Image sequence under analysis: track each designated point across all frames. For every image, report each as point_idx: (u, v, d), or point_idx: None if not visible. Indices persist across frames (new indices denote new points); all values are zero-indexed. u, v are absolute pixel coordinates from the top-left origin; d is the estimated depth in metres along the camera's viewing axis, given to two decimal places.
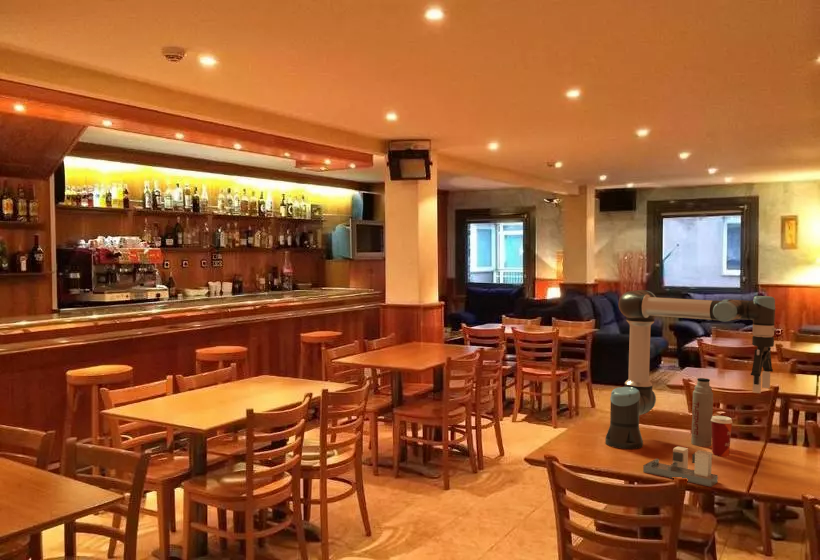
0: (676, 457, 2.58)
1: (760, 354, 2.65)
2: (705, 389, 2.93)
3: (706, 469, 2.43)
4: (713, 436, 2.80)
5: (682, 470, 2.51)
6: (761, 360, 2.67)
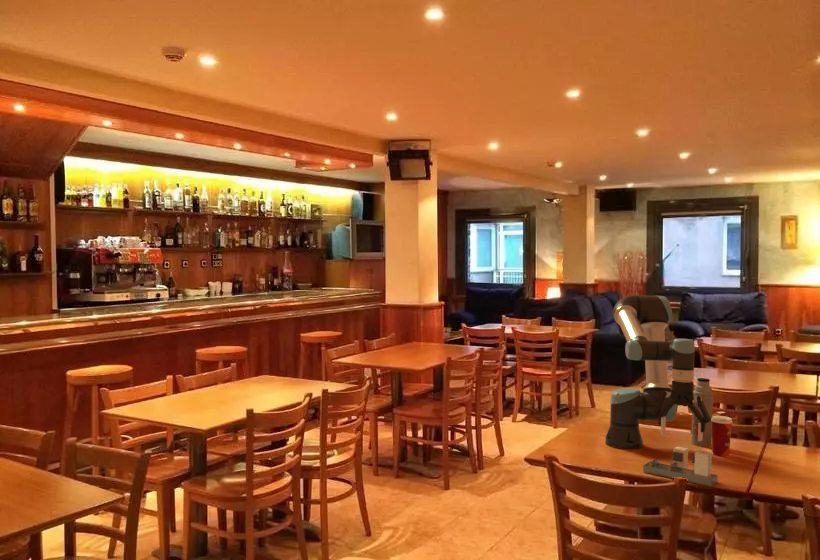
0: (676, 457, 2.58)
1: (662, 395, 2.63)
2: (705, 389, 2.93)
3: (706, 469, 2.43)
4: (713, 436, 2.80)
5: (682, 470, 2.51)
6: (669, 403, 2.61)
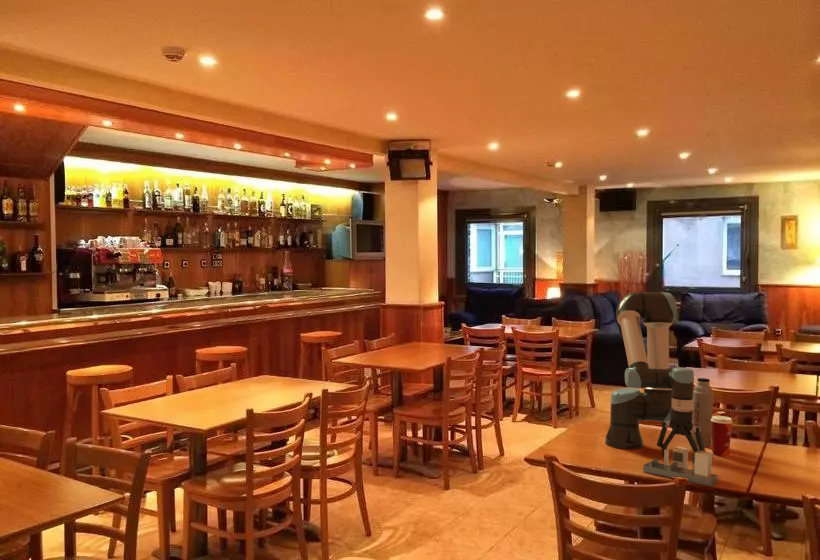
0: (676, 457, 2.58)
1: None
2: (705, 389, 2.93)
3: (706, 469, 2.43)
4: (713, 436, 2.80)
5: (682, 470, 2.51)
6: (670, 433, 2.62)
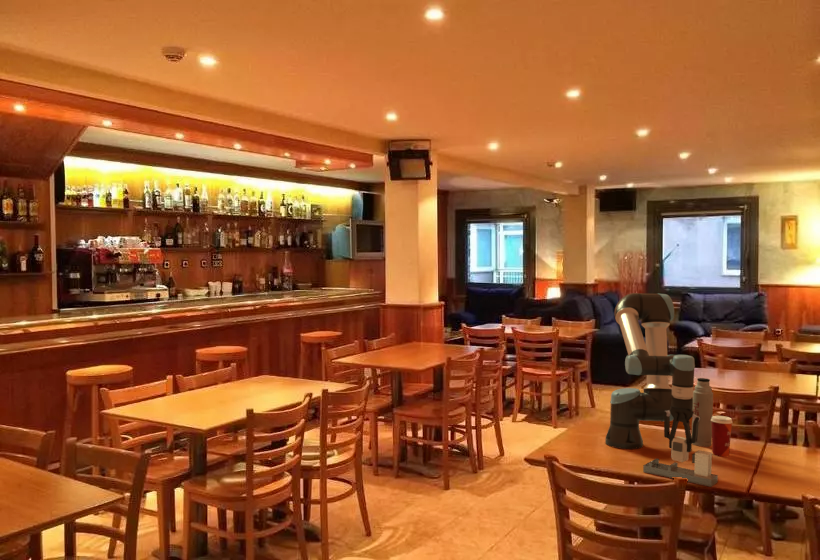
0: (676, 447, 2.58)
1: (664, 416, 2.63)
2: (705, 389, 2.93)
3: (706, 469, 2.43)
4: (713, 436, 2.80)
5: (682, 470, 2.51)
6: (673, 422, 2.61)
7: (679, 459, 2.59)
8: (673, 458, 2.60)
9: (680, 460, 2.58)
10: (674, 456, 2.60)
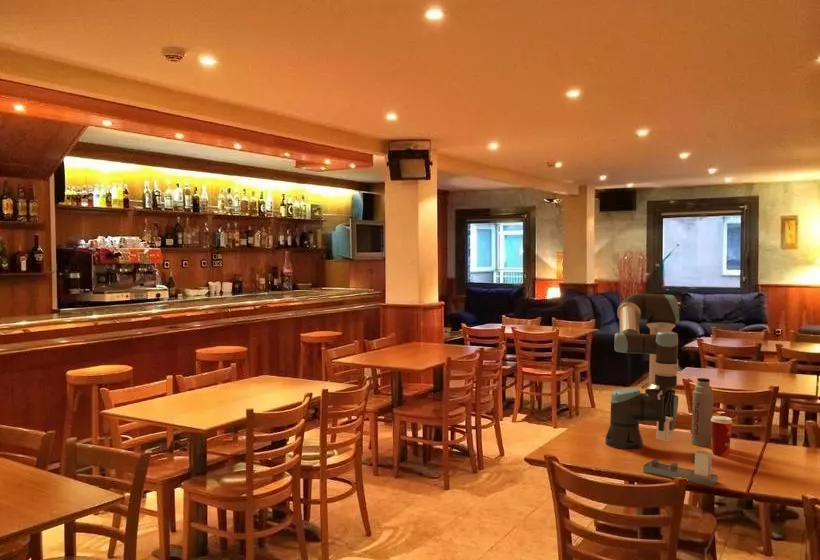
0: (673, 426, 2.52)
1: (661, 399, 2.49)
2: (705, 389, 2.93)
3: (706, 469, 2.43)
4: (713, 436, 2.80)
5: (682, 470, 2.51)
6: (664, 403, 2.52)
7: (671, 437, 2.54)
8: (669, 439, 2.52)
9: (671, 438, 2.54)
10: (669, 436, 2.52)
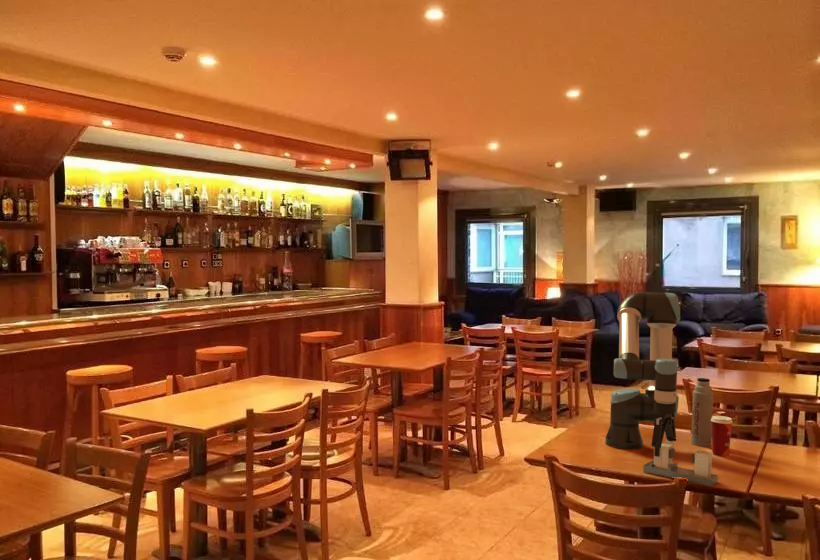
0: (672, 454, 2.53)
1: (660, 424, 2.49)
2: (705, 389, 2.93)
3: (706, 469, 2.43)
4: (713, 436, 2.80)
5: (682, 470, 2.51)
6: (662, 429, 2.51)
7: None
8: None
9: None
10: (668, 464, 2.53)
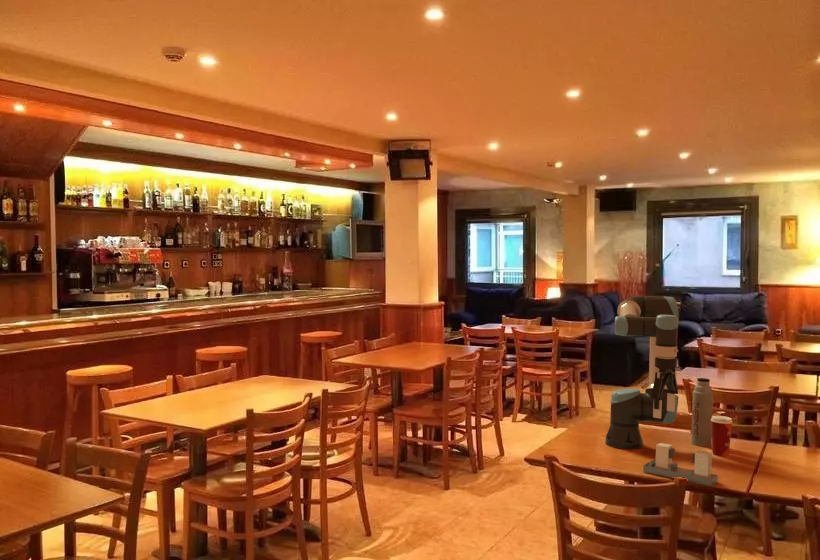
0: (672, 454, 2.53)
1: (660, 377, 2.50)
2: (705, 389, 2.93)
3: (706, 469, 2.43)
4: (713, 436, 2.80)
5: (682, 470, 2.51)
6: (662, 383, 2.52)
7: None
8: None
9: None
10: (668, 464, 2.53)
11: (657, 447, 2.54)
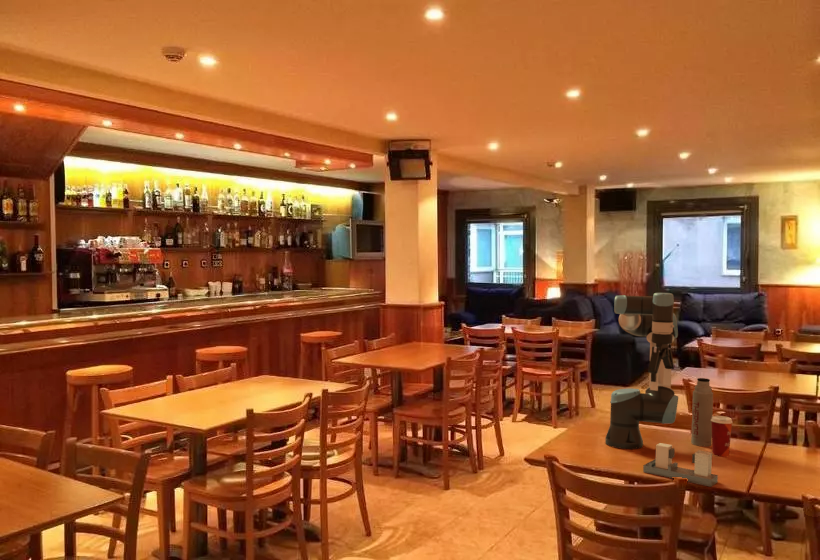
0: (672, 454, 2.53)
1: (657, 351, 2.63)
2: (705, 389, 2.93)
3: (706, 469, 2.43)
4: (713, 436, 2.80)
5: (682, 470, 2.51)
6: (659, 357, 2.65)
7: None
8: None
9: None
10: (668, 464, 2.53)
11: (657, 447, 2.54)
